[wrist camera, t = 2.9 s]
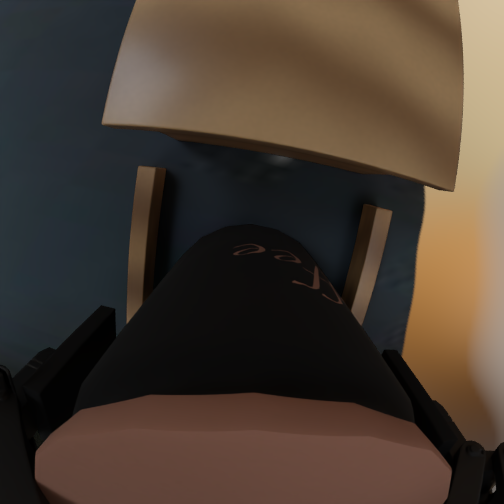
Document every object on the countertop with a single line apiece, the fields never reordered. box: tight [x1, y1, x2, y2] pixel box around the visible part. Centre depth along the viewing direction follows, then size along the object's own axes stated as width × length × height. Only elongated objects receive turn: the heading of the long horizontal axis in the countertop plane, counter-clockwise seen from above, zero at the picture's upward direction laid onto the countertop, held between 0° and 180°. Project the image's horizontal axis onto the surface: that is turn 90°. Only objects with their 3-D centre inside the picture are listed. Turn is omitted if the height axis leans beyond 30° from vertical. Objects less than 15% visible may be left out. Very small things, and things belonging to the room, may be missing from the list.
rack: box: [102, 0, 464, 326], centre depth 14 cm, size 34×16×12 cm, turn 170°
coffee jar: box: [35, 224, 452, 504], centre depth 13 cm, size 11×11×18 cm
